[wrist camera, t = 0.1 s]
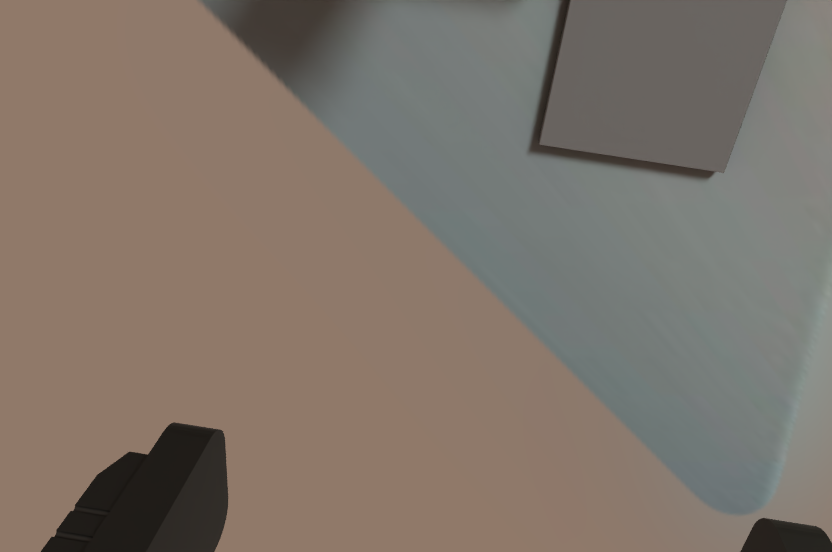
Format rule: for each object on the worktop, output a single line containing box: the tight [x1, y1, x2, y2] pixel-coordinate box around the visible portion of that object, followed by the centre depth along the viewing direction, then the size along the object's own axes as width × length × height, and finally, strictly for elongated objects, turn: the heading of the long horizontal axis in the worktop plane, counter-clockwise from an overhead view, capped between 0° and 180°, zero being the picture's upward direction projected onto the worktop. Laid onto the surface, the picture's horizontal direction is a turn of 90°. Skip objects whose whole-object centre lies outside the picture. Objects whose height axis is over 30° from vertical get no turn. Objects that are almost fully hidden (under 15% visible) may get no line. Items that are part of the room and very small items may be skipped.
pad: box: [539, 0, 787, 173], centre depth 34 cm, size 10×10×1 cm
